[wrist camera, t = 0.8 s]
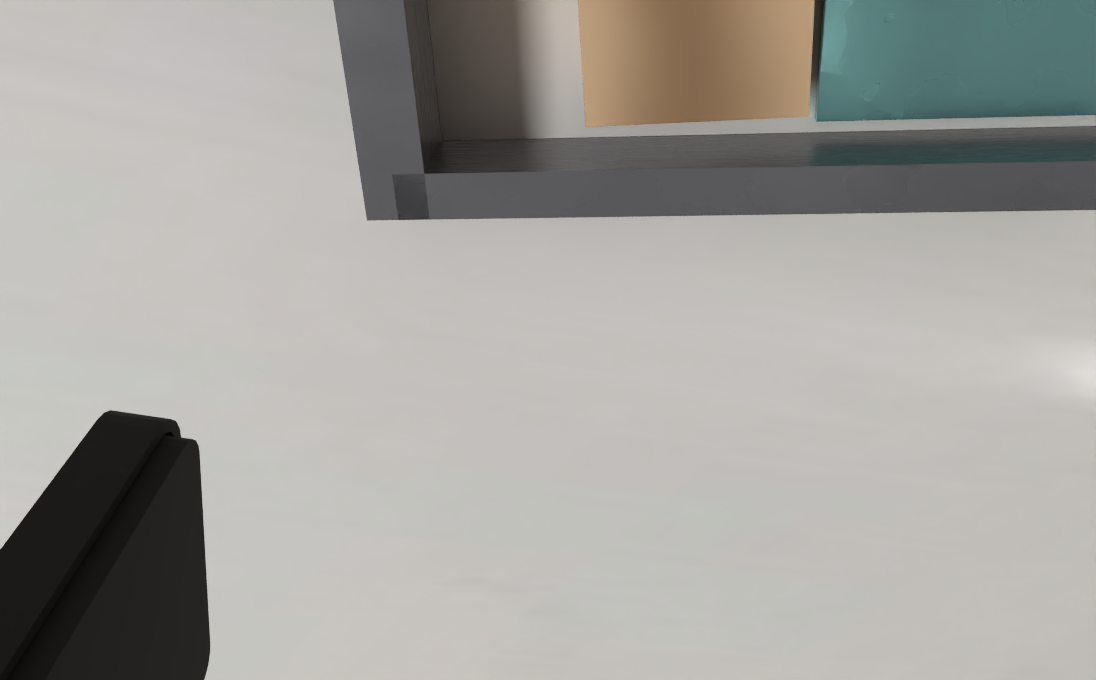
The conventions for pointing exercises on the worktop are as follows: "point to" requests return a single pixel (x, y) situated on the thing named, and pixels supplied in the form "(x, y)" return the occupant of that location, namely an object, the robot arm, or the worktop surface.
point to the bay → (760, 159)
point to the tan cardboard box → (695, 60)
